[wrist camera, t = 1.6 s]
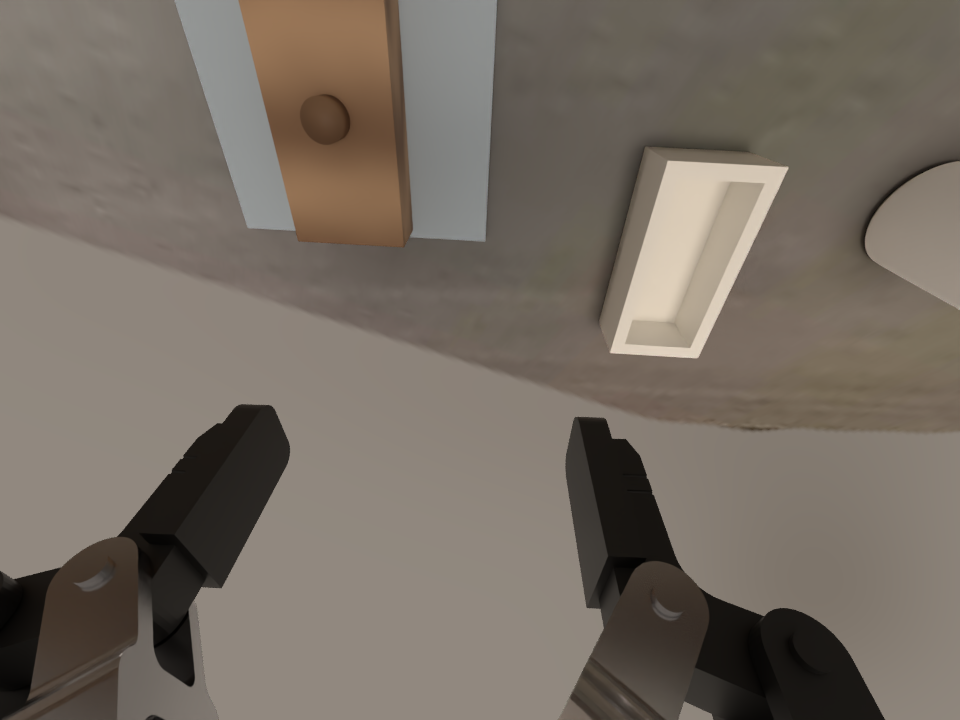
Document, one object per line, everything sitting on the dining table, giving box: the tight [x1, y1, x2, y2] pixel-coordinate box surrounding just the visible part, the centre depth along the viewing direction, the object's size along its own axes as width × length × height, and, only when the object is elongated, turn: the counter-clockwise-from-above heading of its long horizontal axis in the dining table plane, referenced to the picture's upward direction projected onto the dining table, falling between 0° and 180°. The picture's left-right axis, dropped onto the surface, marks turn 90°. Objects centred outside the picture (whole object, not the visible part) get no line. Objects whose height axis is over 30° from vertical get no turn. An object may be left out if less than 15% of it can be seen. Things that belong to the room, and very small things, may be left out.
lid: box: [238, 0, 413, 247], centre depth 20 cm, size 13×6×4 cm, turn 178°
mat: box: [174, 0, 497, 241], centre depth 22 cm, size 14×16×1 cm
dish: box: [599, 146, 789, 358], centre depth 25 cm, size 12×6×4 cm, turn 178°
